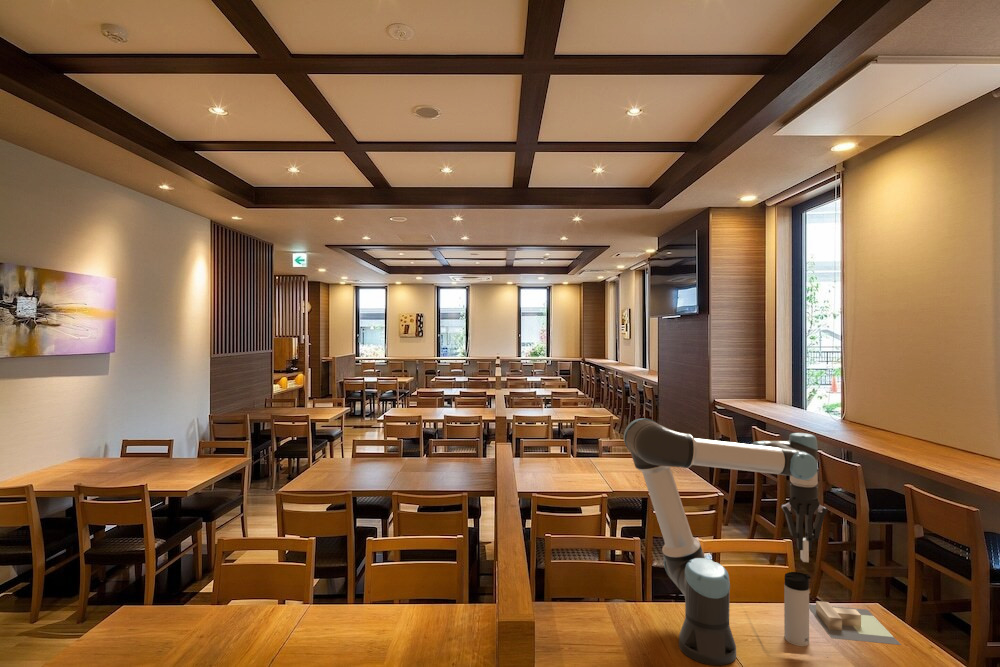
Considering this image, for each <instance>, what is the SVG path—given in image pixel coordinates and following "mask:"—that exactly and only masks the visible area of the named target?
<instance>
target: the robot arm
mask: <svg viewBox="0 0 1000 667" xmlns="http://www.w3.org/2000/svg"><path fill="white" fill-rule="evenodd" d="M817 439H818V438H817V437H816V436H815V435H814V434H810V433H806V432H805V433H804V432H793V433H790V434H789V438H788V439H787V440H760V441H759V440H758V441H753V442H752V443H750V444H749V443H740V442H734V441H723V440H722V441H721V440H715V439H714V440H713V439H705V438H696V437H693V435H692V434H691V433H685V432H679V431H675V430H673V429H670V428H668V427H666V426H664V425H661V424H659V423H658V422H656V421H655V420H653V419H650V418H637V419H633V421H632V420H631V422H630V423H629V424H628V425H626V427H625V429H624V431H623V442H624V444H625V447H626V448H627V449H628V451H629V452H630V455H631V458H632V461H633V463H634V466H635V467H634V468H635V469H636V470H637V471H640V472H642V476H643V478H644V482H645V485H646V488H647V492H648V494H649V498H650V501H651V504H652V507H653V510H654V512H655V516H656V519H657V523H658V524H659V528H660V532H661V534H662V538H663V541H664V545H662V549H661V550H662V554H663V566H664V569H665V572H666V575H667V576H668V578H669V579H670V581H672V582H673V583H674V584H675V586H676V587H677V588H678V590H680V592H681V593H682V595H683V596H684V599H685V600H684V601H685V602H684V606H685V608H684V610H685V611H684V612H685V613H684V614H685V615H684V617H685V618H684V620H683V624H682V626H681V629H680V632H679V635H678V636H679V637H678V647H679V649H680V651H681V652H682V653H683V654H684V655H685V656H687V657H688V658H690V659H691V660H694V661H696V662H699V663H701V664H705V665H710V666H726V665H729V664H732V663H733V662H734V661H735V660H736V658H737V646H736V641H735V639H734V636H733V633H732V630H731V627H730V626H731V625H730V590H731V583H730V575H729V573H728V570H727V569H726V568H725V567H724V565H722V564H720V562H717V561H716V562H715V561H714V560H711V559H709V558H706V557H705V555H704V554H705V553H704V551H703V548H702V545H701V542H700V541H699V540H698V539H697V538H696V537H694V536H693V534H692V531H691V527H690V524H689V521H688V517H687V515H686V511H685V509H684V506H683V502H682V499H681V496H680V493H679V490H678V487H677V484H676V480H675V477H674V474H673V471H672V468H671V467H673V468H674V467H675V468H683V469H689V468H691V467H692V466H699V467H707V468H709V467H710V468H719V469H726V470H727V469H728V470H736V471H744V472H745V471H747V472H754V473H762V474H763V473H765V474H772V475H773V474H774V475H780V476H781V475H782V476H789V481H790V482H791V483H790V484H789V499H788V502H787V503H785V504H781V505H780V508H781V509H782V510H783V513H784V514H785V520H786V522H787V526H788V530H789V534H790V535H791V536H792V537H793V538H795V539H796V548H797V550H799V551H800V552H799V553H800V554H799V555H800V558H799V559H800V560H801V561H802V562H803V563H810V562H809V561H810V556H809V555H810V554H809V553H810V551H811V552H812V550H813V543H812V542H814V540H818V539H819V538H820V534H821V531H822V527H823V522H824V519H825V516H826V514H827V513H829V510H828V508H827V507H825V506H823V505H821V504H820V503H821V502H820V501H819V487H818V483H819V481H818V479H819V478H818V477H819V476H818V475H819V474H818V473H819V472H818V468H819V466H818V451H819V448H818V440H817ZM791 508H792V509H793V510H794V512H795V523H794V520H793V516H792V513H791V510H792V509H791ZM816 511H817V513H816V515H815V518H814V514H815V512H816ZM813 519H814V523H813ZM804 521H805V522H804ZM795 526H796V527H795ZM804 526H805V527H804ZM804 529H805V530H804ZM804 532H805V533H804ZM804 534H805V537H804Z"/></svg>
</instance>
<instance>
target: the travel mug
mask: <svg viewBox="0 0 1000 667" xmlns="http://www.w3.org/2000/svg"><path fill="white" fill-rule="evenodd" d="M810 580H811V576H810V575H809V573H804V572H799V571H790V572H786V573H785V574H784V583H783V584H784V589H783V590H784V591H783V592H784V600H783V602H784V604H783V606H784V609H783V610H784V611H783V612H784V614H783V615H784V627H783V628H784V630H783V632H784V639H785V641H786V642H788V643H789V644H792V645H794V646H798V647H806V646H809V645H810V609H809V604H810Z"/></svg>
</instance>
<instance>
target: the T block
mask: <svg viewBox="0 0 1000 667" xmlns="http://www.w3.org/2000/svg"><path fill="white" fill-rule="evenodd" d="M815 605H816V613H817V614H818V615H819V617H820V618H821V619H822V621H823V622H824V623H825V624H826V626H827V627H828V628H829V629H833V630H842V625H847V626H857V627H861V614H860V613H859V612H858V611H857V610H856V609H857V608H855V609H846V608H847V607H844V608H835V607H836V606H833V605H831V603H830V602H828V601H819V600H816V601H815ZM832 606H833V607H832Z"/></svg>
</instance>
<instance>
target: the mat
mask: <svg viewBox="0 0 1000 667" xmlns="http://www.w3.org/2000/svg"><path fill="white" fill-rule="evenodd" d="M831 606H832V607H835V608H846V609H856V610H857V611H858V612H859V613H860V614H861V627H857V626H847V625H842V630H833V629H829V628H828V627H827V626H826V624H825V623H824V622H823V621H822V619H821V618H820V617H819V615H818V614H817V613H816V604H810V603H809V611H810V612H811V613H812V614H813V615H814V617H815V618H816V619H817V621H818V623H819V624H820V625H821V626H822V628H823V629H824V630H825V631H826V633H827V634H828V636H829V637H830V638H831V639H835V640H836V639H837V640H849V641H856V642H857V641H859V642H869V643H878V644H885V645H886V644H887V645H897V646H898V645H899V646H901V645H902V644H901V643H900V642H899V640H897V639H896V638H895V637H894V636H893V634H891V632H890V631H889V630H888V629H887V628H886V627H885V626H884V625H883V624H882V623H881V622H880V621H879V620H878V618H876V617H875V616H874V615H873V614H872V612H870V610H869V609H867V608H866V609H865V608H856V607H855V608H853V607H843V606H841V607H840V606H833V605H831Z"/></svg>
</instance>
